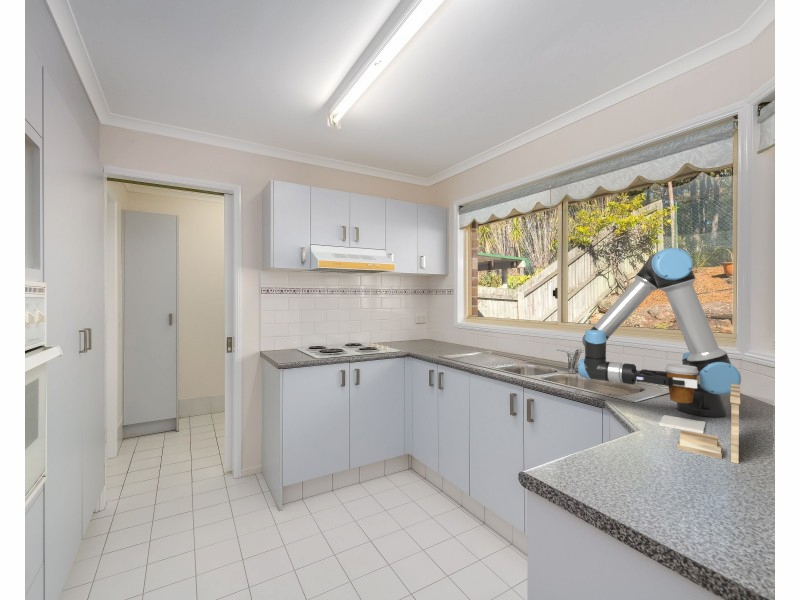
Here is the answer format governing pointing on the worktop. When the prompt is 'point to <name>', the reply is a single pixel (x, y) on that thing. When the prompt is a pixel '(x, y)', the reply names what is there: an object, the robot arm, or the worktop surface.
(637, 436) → the worktop surface
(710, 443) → the offcut stack
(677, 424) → the white square coaster
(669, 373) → the disposable coffee cup
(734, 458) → the pine panel
